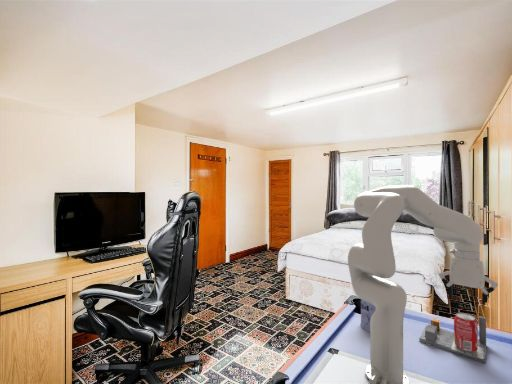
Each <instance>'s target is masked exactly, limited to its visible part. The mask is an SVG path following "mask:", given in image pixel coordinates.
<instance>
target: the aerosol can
mask: <svg viewBox="0 0 512 384" xmlns="http://www.w3.org/2000/svg"><path fill="white" fill-rule="evenodd" d="M375 310H376V307H375V306H374V305H372V304H370V303H368V302H366V301H364V300H362V299H361V298H360V327H361V328H363V329H364V330H365V331H368V332H370V320H371V316H372V315H373V313H374V312H375Z"/></svg>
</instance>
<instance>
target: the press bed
mask: <svg viewBox="0 0 512 384" xmlns="http://www.w3.org/2000/svg"><path fill="white" fill-rule="evenodd" d="M427 326H428V324H425V327H424V328H423V331H422V332H421V334H420V336H419V337H418V338H419V343H423V344H426V345H428V346H433V347H435V348H439V349H441V350H444V351H448V352H450V353H454V354H457V355H459V356H463V357H465V358H468V359H472V360H474V361H477V362H480V363H483V364H485V363H486V357H487V356H486V354H487V317H485V316H481V315H479V316H478V326H479V327H478V328H479V329H478V348H477V351H474V352H467V351H464V350H461V349H460V348H458V347H457V346H456V345H455V342H454V331H451V330H448V329H443V328H441V327H440V330H437V337H436V339H435V341H434V342H432V341H429V340H426V339H425V330H426V328H427Z"/></svg>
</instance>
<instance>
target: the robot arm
mask: <svg viewBox="0 0 512 384" xmlns="http://www.w3.org/2000/svg"><path fill="white" fill-rule="evenodd" d="M353 207H354V210H355V212H356V213H357V214H358V215H359V216H362V217H364V218H367V219H366V221H365V223H364V225H363V227H362V231H361V239H362V242H361V243H356V244H354V245H352V246H351V248H350V249H349V252H348V255H347V266H348V270H349V276H350V280H351V281H350V282H351V285H352V289H353V292H354V294H355V295H356V297H357V298H359V299H360V300H361V299H362V300H364V301H366V302H368V303H370V304H372V305H374V306H375V307H376V310H375V312H374V313H373V315H372V316H371V320H370V331H369V334H370V338H369V339H370V342H369V343H370V345H369V346H370V352H369V353H370V357H369V358H370V363H369V364H370V365H369V364H368V365H366V367H365V370H364V371H365V373H366V374H365V377H366V376H367V377H366V379H367V378H368V379H369V380H368V379H367V380H368V382H369V384H410V380H409V378H408V376H407V375H406V374H405V375H403V373H404V317H405V312H406V306H407V300H408V298H407V292H406V290H405V289H404V288H403V286H401V285H399V283H397V282H395V281H393V280H390V279H391V278H392V277H393V276H394V275H395V274H396V269H397V267H396V259H395V252H394V248H393V247H394V246H393V241H392V230H393V227H394V226H395V223H396V222H397V221H398V219H399V218H400V216H401V215H402V214H403V212H406V213H407V214H409V215H410V216H411V217H412V218H414V219H415V220H416V221H418V222H419V223H421V224H423V225H425V226H428V227H431V228H433V234H434V236H435V237H436V238H437V239H438V240H440V241H443V242H447V243H454V247H453V248H454V249H449V254H452V255H453V256H451V259H450V265H449V270H446V271H443V272H439V274H438V277H439V278H440V279H441V282H443V283H444V284H445V286H446V287H447V289H446V290H447V291H446V292H447V295H449V298H450V299H452V298H453V294H454V293H453V291H454V289H453V288H454V286H453V285H459V286H463V287H468V288H473V289H480V290H481V291H482V293H481V297H482V298H481V299H482V300H481V304H482V306H486V303H488V302H489V301H488V295H490V293H492V292H493V291H495V290H496V288H497V287H498V286H499V283H498V282H497V281H495V280H493V279H491V278H489V277H488V276H486V275H485V269H484V268H485V267H484V263H483V260H482V259H481V257H480V256H481V254H480V253H481V251H480V250H481V249H480V248H481V247H480V245H481V244H480V243H481V242H482V240H483V238H484V232H483V230H482V227H480V225H479V224H478V223H477V222H476V221H475V220H473V219H472V218H471V217H469V216H468V215H465V214H464V213H461V212H459V211H457V210H453V209H451V208H449V207H446V206H444V205H440V204H439V203H437V202H436V200H433V199H432V198H431V197H430V196H429V195H427V194H426V193H425V192H424V191H422V190H421V189H420V188H419V187H417V186H415V185H412V184H411V185H410V184H399V185H397V184H395V185H386V186H382V187H379V188H376V189H372V190H369V191H364V192H362V193H360V194H359V195H357V196H356V197H355V199H354V203H353ZM445 276H449V281H448V279H446V277H445ZM389 278H390V279H389ZM485 282H487V283H489V284H490V286H489V287H486V286H485ZM404 377H405V378H406V379H405V378H404Z"/></svg>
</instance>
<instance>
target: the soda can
mask: <svg viewBox="0 0 512 384" xmlns="http://www.w3.org/2000/svg"><path fill="white" fill-rule="evenodd" d="M478 326H479V324H478V322H477V320H476V317H475V316H474V315H471V314H469V313H464V312H457V313H456V314H455V316H454V317H453V332H454V342H455V345H456V346H457V347H458V348H460V349H461V350H464V351H467V352H474V351H477V348H478V339H479V329H478V328H479V327H478Z"/></svg>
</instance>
